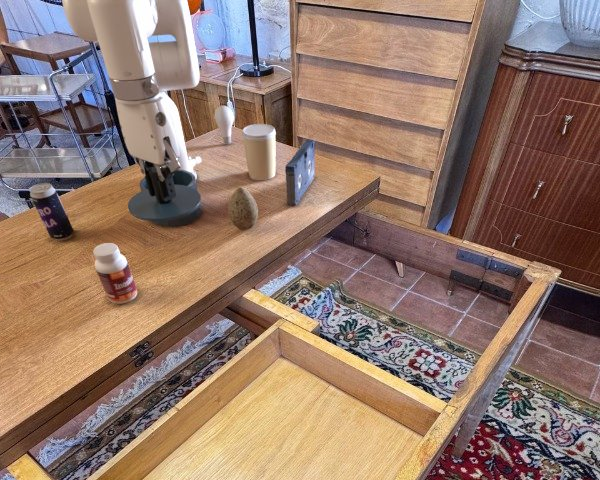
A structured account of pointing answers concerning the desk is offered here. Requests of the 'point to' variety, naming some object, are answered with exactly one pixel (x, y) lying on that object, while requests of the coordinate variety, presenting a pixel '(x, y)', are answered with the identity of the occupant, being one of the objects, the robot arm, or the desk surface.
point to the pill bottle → (114, 273)
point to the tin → (187, 180)
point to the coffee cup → (260, 150)
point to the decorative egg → (243, 209)
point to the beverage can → (51, 211)
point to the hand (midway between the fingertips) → (163, 195)
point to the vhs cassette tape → (300, 172)
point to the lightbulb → (224, 122)
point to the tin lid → (163, 202)
